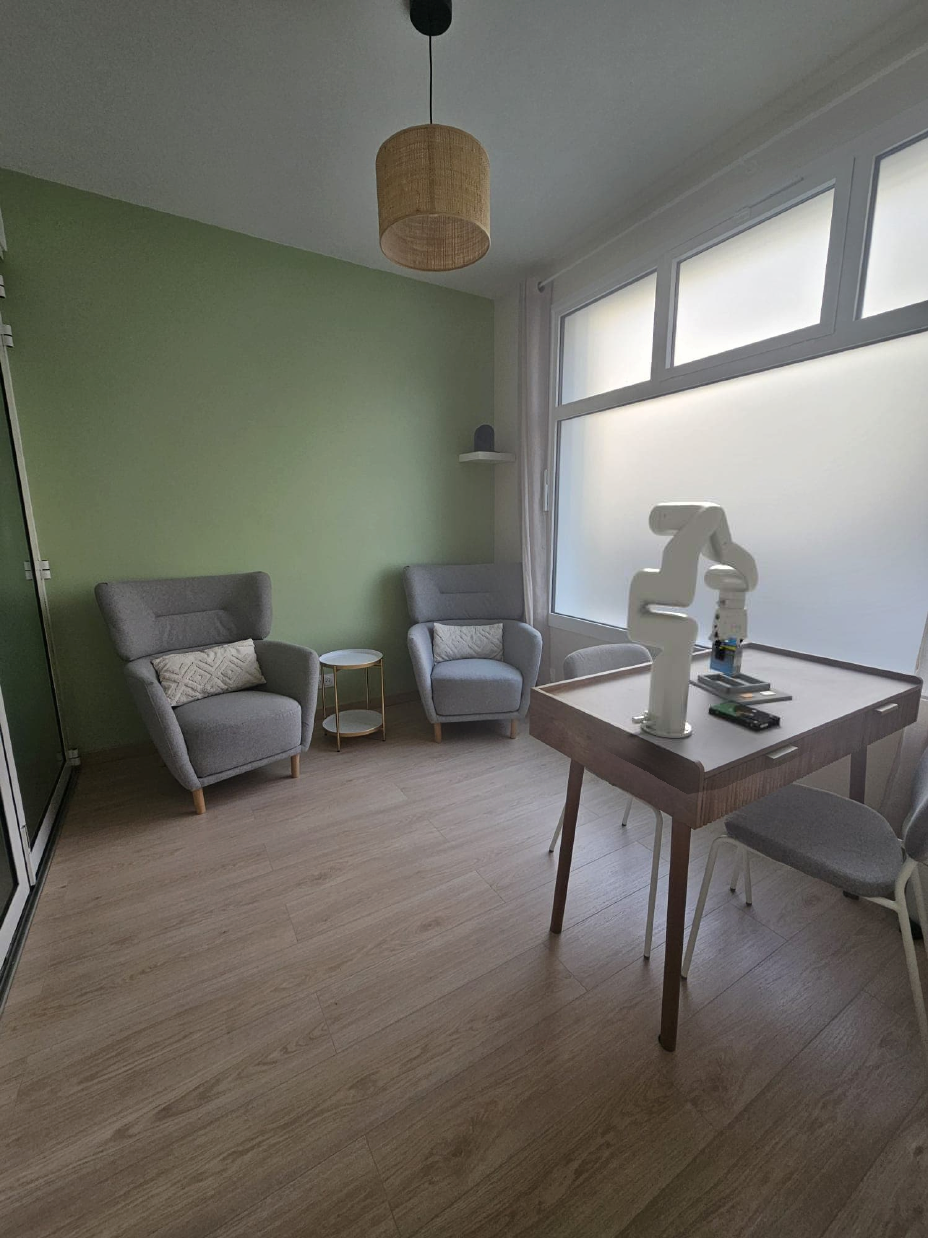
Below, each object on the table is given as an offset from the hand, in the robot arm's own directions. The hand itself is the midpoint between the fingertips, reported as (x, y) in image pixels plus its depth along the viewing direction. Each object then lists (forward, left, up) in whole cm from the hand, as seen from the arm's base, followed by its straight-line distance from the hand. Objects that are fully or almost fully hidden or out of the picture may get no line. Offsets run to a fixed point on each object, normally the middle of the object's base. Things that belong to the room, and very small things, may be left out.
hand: (725, 658), depth 165 cm
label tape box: (0, 0, -5) cm, 5 cm away
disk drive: (-13, -22, -11) cm, 28 cm away
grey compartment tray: (+4, -3, -10) cm, 11 cm away
